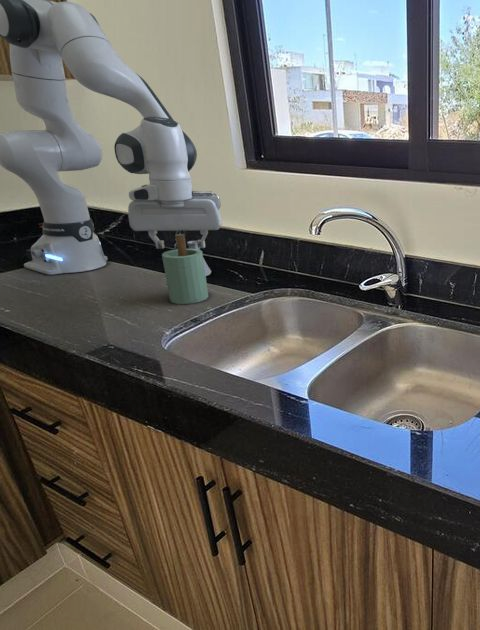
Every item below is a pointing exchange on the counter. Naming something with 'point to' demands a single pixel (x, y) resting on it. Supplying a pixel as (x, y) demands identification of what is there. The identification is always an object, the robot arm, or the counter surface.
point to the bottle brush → (181, 245)
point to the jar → (185, 276)
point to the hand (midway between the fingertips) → (181, 247)
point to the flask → (207, 271)
